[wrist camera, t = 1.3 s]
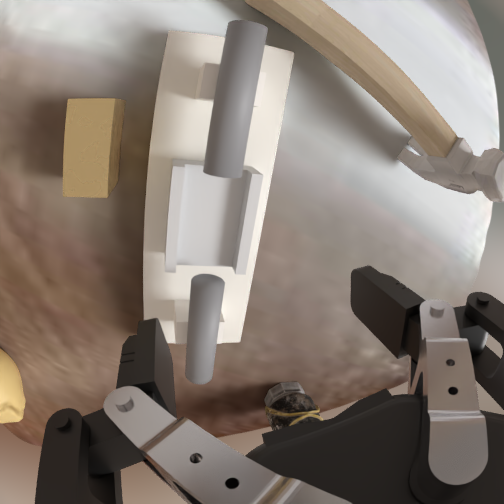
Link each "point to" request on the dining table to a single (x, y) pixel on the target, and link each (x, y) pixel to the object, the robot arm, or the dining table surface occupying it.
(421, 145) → the hammer
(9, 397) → the tan round ball
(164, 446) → the robot arm
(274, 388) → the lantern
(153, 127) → the shaft rig
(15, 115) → the dining table surface
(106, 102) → the gold rectangular block
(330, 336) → the dining table surface
